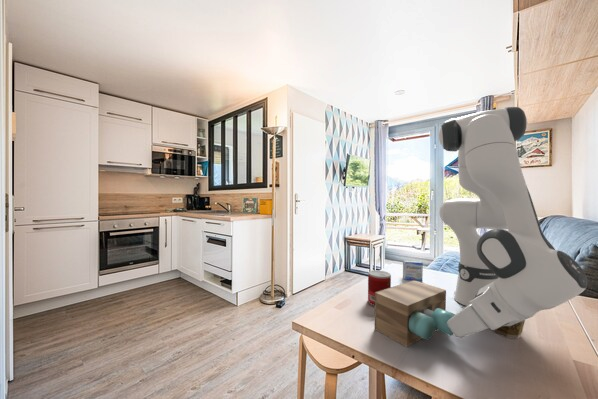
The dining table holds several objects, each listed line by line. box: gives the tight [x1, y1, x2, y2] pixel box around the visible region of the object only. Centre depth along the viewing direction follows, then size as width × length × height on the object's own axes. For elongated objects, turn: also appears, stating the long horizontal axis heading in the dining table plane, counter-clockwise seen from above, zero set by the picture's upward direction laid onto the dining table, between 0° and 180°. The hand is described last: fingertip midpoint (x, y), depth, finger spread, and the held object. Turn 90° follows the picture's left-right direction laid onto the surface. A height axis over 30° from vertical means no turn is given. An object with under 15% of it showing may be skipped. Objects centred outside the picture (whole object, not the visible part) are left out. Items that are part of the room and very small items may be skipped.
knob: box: [424, 308, 456, 336], centre depth 72 cm, size 6×14×6 cm, turn 34°
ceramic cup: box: [475, 293, 526, 339], centre depth 75 cm, size 13×10×10 cm
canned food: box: [367, 270, 392, 306], centre depth 93 cm, size 8×8×11 cm
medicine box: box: [402, 259, 424, 282], centre depth 120 cm, size 8×4×9 cm, turn 81°
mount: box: [374, 280, 447, 348], centre depth 74 cm, size 20×15×11 cm
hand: (454, 326), depth 66 cm, fingers closed, pressing on knob
